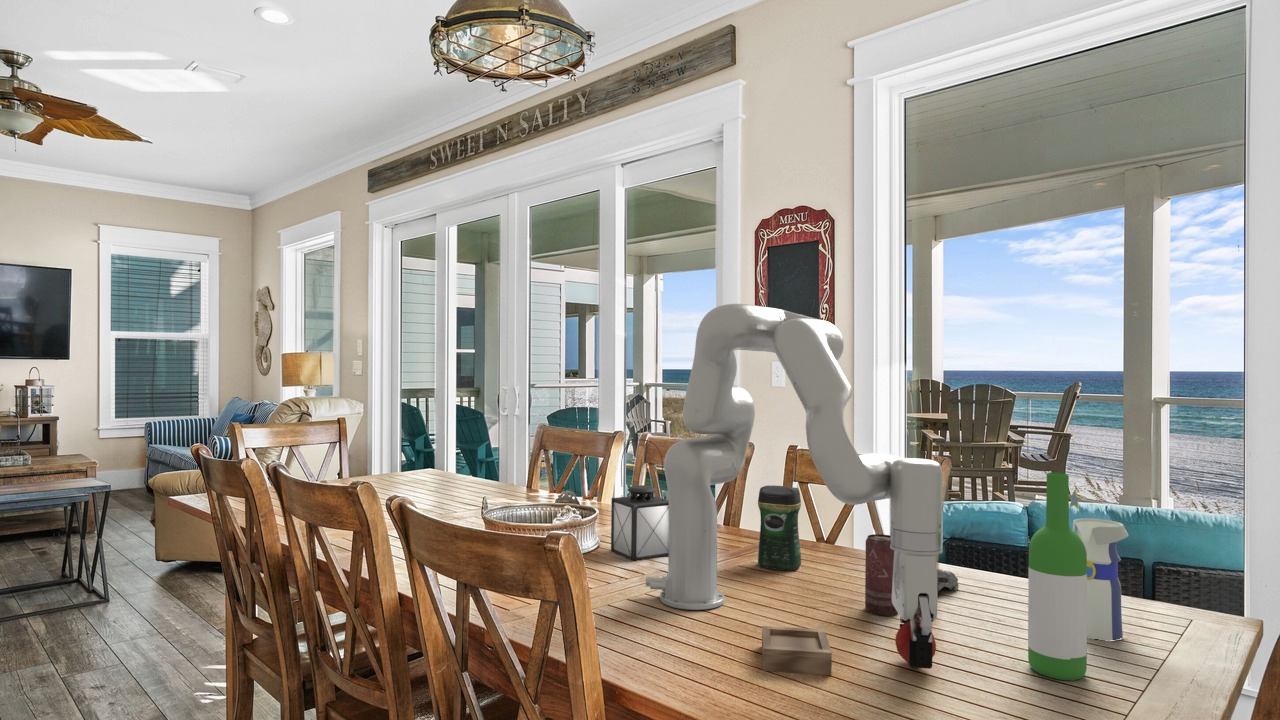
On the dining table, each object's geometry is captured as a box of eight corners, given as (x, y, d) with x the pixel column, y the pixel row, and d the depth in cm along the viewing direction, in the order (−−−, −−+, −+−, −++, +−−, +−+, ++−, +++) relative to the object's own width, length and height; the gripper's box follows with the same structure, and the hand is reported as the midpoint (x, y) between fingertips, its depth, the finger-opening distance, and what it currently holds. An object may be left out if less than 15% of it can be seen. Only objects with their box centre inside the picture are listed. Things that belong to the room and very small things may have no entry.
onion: (889, 660, 116) (889, 609, 116) (924, 660, 116) (924, 608, 117) (905, 676, 110) (905, 622, 110) (942, 675, 111) (943, 621, 111)
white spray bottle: (1108, 645, 123) (1109, 495, 124) (1059, 629, 131) (1059, 487, 131) (1137, 638, 127) (1137, 492, 128) (1087, 622, 135) (1087, 484, 135)
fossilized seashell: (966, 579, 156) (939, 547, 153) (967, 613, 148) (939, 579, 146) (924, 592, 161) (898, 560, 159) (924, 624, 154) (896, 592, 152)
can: (902, 617, 136) (903, 541, 137) (866, 615, 138) (867, 539, 138) (898, 607, 142) (898, 534, 143) (863, 605, 144) (864, 532, 144)
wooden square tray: (763, 670, 112) (763, 648, 112) (761, 646, 121) (762, 625, 122) (831, 675, 110) (831, 652, 110) (824, 650, 120) (824, 629, 120)
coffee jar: (804, 565, 172) (805, 485, 173) (794, 573, 165) (795, 490, 166) (764, 560, 177) (765, 482, 177) (753, 567, 170) (754, 486, 170)
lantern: (610, 551, 184) (611, 438, 184) (649, 546, 190) (649, 436, 190) (632, 562, 174) (633, 442, 174) (672, 556, 180) (673, 440, 180)
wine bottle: (1099, 680, 109) (1100, 476, 110) (1054, 684, 108) (1054, 477, 108) (1059, 660, 117) (1060, 469, 117) (1016, 663, 115) (1017, 470, 116)
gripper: (880, 527, 123) (879, 637, 122) (902, 552, 106) (901, 680, 105) (927, 529, 122) (927, 639, 121) (957, 555, 104) (957, 684, 104)
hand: (915, 657), depth 113 cm, fingers closed on onion, 5 cm apart
